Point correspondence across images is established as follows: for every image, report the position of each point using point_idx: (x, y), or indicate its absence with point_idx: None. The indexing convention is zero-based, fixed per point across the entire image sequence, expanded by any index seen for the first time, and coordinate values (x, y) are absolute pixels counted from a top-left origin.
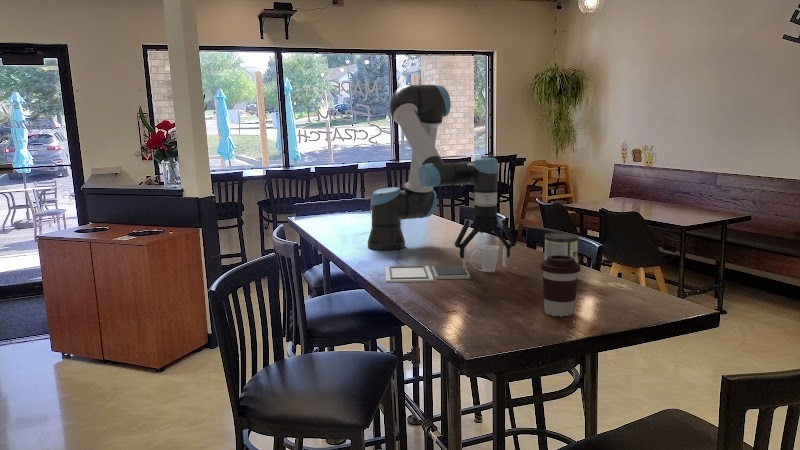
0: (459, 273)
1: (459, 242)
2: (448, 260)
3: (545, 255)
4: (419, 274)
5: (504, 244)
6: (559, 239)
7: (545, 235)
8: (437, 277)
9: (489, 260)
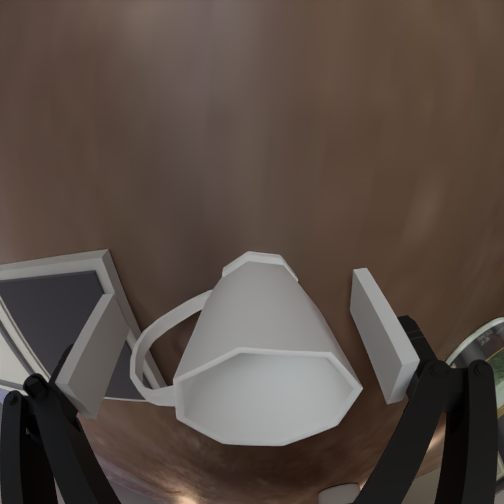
0: (124, 392)
1: (44, 448)
2: (17, 57)
3: None
4: (8, 354)
5: (395, 429)
6: None
7: (501, 490)
8: None
9: (259, 375)
